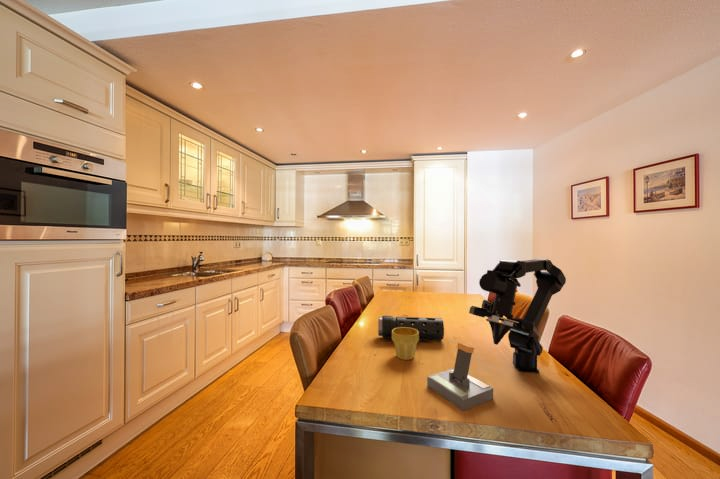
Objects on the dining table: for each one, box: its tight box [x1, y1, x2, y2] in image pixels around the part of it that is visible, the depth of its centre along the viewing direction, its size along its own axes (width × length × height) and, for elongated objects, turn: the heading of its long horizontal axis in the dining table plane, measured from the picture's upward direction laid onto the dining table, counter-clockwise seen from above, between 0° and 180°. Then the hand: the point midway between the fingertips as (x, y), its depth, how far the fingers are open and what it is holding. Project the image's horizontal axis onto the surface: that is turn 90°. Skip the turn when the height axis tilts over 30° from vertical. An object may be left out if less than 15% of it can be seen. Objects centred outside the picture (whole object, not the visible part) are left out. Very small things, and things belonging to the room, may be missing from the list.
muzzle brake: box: [377, 315, 445, 342], centre depth 126 cm, size 10×28×10 cm, turn 84°
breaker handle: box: [453, 342, 475, 383], centre depth 84 cm, size 2×4×11 cm, turn 29°
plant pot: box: [391, 327, 420, 361], centre depth 108 cm, size 10×10×10 cm
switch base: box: [426, 367, 494, 412], centre depth 84 cm, size 12×14×5 cm
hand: (495, 344), depth 91 cm, fingers closed
